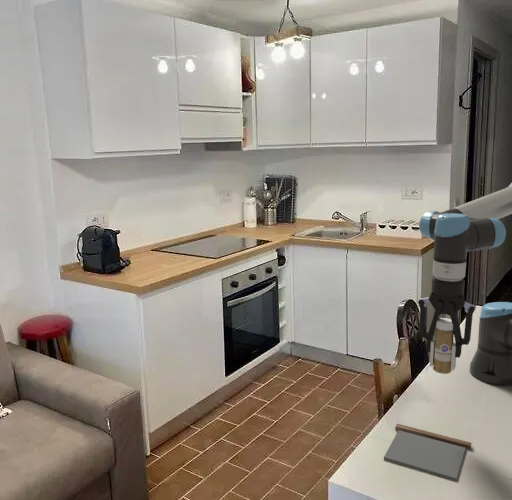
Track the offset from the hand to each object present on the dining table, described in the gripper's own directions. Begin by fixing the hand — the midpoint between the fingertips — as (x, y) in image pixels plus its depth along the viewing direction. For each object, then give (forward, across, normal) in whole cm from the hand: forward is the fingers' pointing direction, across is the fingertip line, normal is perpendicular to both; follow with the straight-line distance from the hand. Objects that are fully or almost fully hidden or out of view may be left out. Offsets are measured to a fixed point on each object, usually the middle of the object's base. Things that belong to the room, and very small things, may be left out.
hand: (442, 366), depth 133 cm
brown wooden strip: (+16, 0, -7) cm, 18 cm away
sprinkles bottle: (+1, 0, 0) cm, 1 cm away
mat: (+16, 0, -15) cm, 22 cm away
